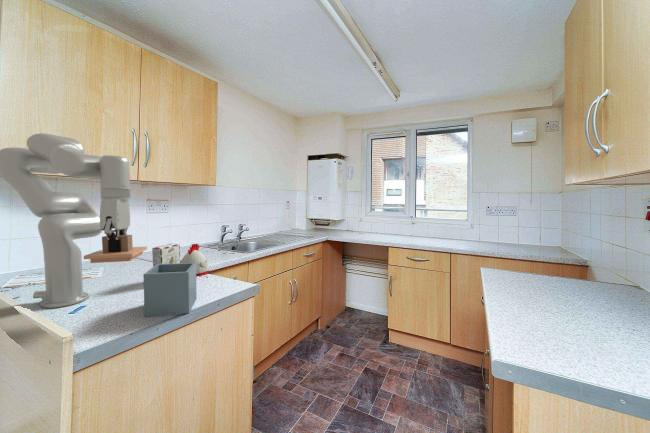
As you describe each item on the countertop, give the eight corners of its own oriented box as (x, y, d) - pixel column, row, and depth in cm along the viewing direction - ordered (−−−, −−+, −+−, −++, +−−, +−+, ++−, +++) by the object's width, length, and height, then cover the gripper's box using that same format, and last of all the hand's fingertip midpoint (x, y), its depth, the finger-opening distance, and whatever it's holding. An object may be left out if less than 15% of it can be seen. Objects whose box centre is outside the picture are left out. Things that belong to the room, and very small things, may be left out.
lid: (84, 264, 80) (82, 239, 80) (105, 255, 92) (104, 233, 92) (132, 261, 84) (131, 238, 83) (147, 253, 96) (146, 232, 95)
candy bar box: (171, 277, 127) (171, 243, 126) (181, 278, 126) (180, 243, 125) (152, 284, 116) (151, 247, 115) (162, 285, 115) (161, 248, 114)
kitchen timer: (214, 270, 140) (214, 242, 139) (198, 278, 127) (198, 247, 125) (189, 269, 142) (189, 241, 141) (171, 276, 128) (171, 245, 127)
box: (144, 317, 86) (143, 274, 85) (157, 301, 98) (157, 264, 97) (189, 313, 89) (188, 272, 88) (196, 298, 102) (196, 262, 101)
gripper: (114, 194, 93) (116, 246, 95) (87, 194, 78) (89, 256, 79) (139, 195, 96) (140, 245, 97) (117, 195, 80) (119, 255, 81)
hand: (117, 250), depth 88 cm, fingers closed on lid, 3 cm apart
